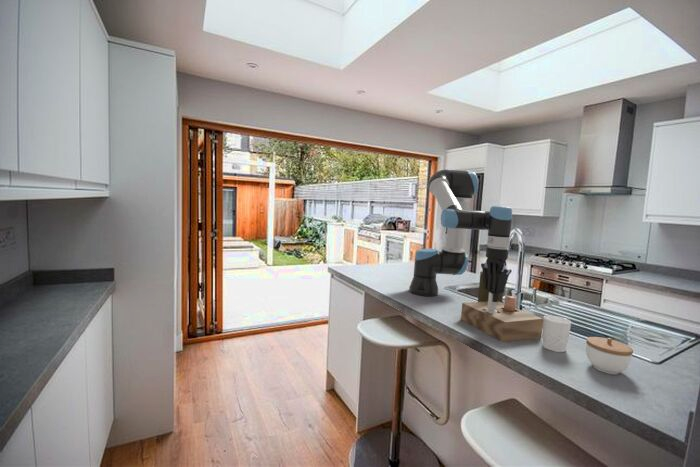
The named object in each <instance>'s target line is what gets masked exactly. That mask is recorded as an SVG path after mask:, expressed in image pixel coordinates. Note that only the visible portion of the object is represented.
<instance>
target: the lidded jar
mask: <svg viewBox="0 0 700 467" xmlns="http://www.w3.org/2000/svg"><path fill="white" fill-rule="evenodd" d="M585 341H586V345H585V351H586V356H587V359H588V361H589V362H590V364H591V365H592V366H593V367H592V368H594V369H595V370H596V371H597V370H598V371H599V372H602V373H605V374H608V375H619V374H620V373H623V372H624V371H626V370H627V369H628V368H629V366H630V364H631V361H632V357H633V353H634V349H633V348H632V347H631V346H629V345H628V344H626V343H624V342H620V341H618V340H614V339H612V338H610V337H607V338H606V337H601V336H588V337H587V338H586V340H585Z"/></svg>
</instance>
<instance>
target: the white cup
mask: <svg viewBox="0 0 700 467" xmlns="http://www.w3.org/2000/svg"><path fill="white" fill-rule="evenodd" d="M542 318H543V327H542V336H541V338H542V342H541V344H542V345H541V346H542V347H543V348H544V349H547V350H549V351H552V352H556V353H564V352H566V350H567V345H568V342H569V338H570V332H571V327H572V321H571V320H570V319H568V318H565V317H562V316H558V315H550V314H547V315H546V314H545V315H543V317H542Z"/></svg>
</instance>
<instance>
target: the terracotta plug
mask: <svg viewBox="0 0 700 467" xmlns="http://www.w3.org/2000/svg"><path fill="white" fill-rule="evenodd" d="M516 306H517V297H515V296H513V295H505V296H504V310H506V311H508V312H515V308H517V307H516Z"/></svg>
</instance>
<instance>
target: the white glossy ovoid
mask: <svg viewBox="0 0 700 467" xmlns="http://www.w3.org/2000/svg"><path fill="white" fill-rule="evenodd" d="M486 312H489V313H491V314H493V313H497V310H488V309H486Z"/></svg>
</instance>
